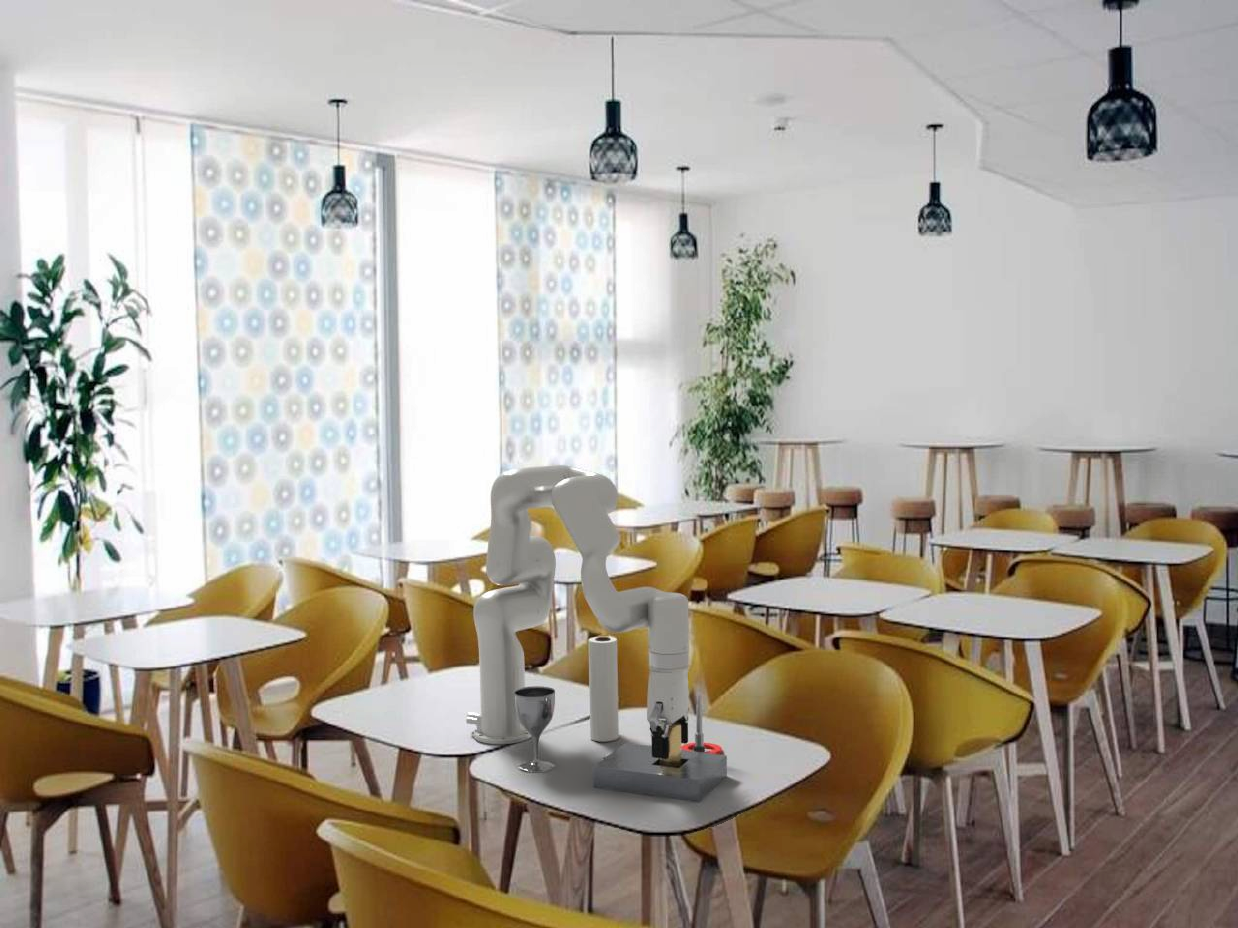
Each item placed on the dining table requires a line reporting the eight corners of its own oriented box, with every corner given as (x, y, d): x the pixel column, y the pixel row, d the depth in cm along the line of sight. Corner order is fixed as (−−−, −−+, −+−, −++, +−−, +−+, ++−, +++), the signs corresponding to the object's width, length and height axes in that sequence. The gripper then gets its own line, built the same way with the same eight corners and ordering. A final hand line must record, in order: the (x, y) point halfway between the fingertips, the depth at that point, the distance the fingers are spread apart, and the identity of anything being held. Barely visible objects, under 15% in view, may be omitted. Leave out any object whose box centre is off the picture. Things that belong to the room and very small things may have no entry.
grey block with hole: (593, 787, 219) (592, 766, 219) (626, 762, 233) (625, 742, 233) (699, 802, 211) (699, 780, 211) (726, 775, 224) (726, 755, 224)
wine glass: (562, 761, 234) (561, 687, 233) (547, 774, 227) (545, 698, 226) (525, 758, 237) (524, 684, 236) (509, 771, 229) (507, 695, 228)
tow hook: (682, 747, 244) (677, 759, 235) (682, 685, 244) (677, 694, 235) (723, 748, 243) (720, 761, 234) (723, 686, 242) (720, 696, 233)
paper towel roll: (602, 744, 245) (600, 642, 244) (584, 737, 250) (582, 638, 248) (628, 737, 250) (627, 637, 248) (611, 731, 254) (609, 633, 253)
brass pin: (656, 784, 220) (656, 726, 220) (665, 777, 224) (664, 720, 223) (676, 787, 219) (676, 729, 218) (684, 780, 222) (684, 723, 222)
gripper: (667, 648, 229) (668, 734, 230) (631, 668, 213) (633, 761, 214) (704, 651, 226) (705, 739, 227) (670, 672, 210) (671, 766, 211)
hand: (670, 749), depth 221 cm, fingers open, 9 cm apart
